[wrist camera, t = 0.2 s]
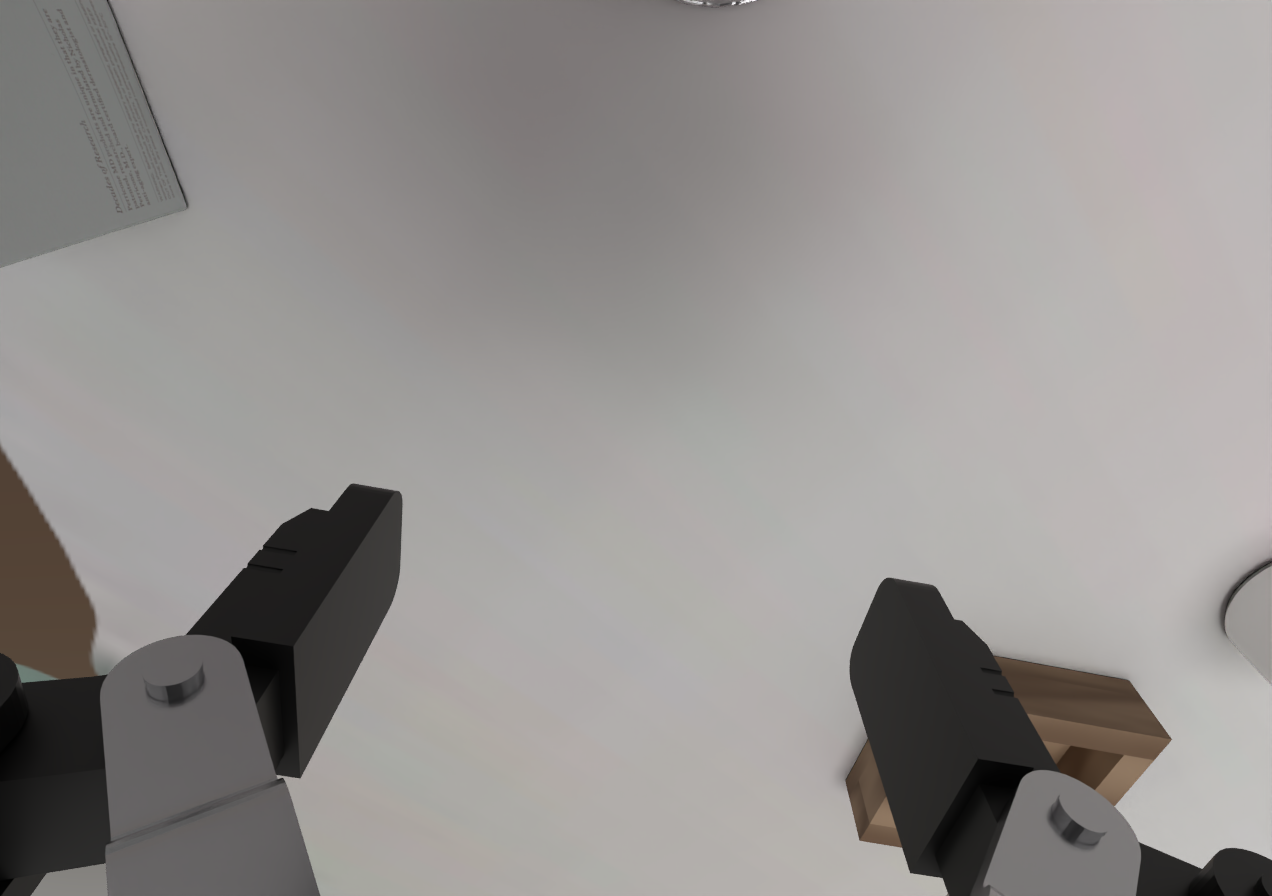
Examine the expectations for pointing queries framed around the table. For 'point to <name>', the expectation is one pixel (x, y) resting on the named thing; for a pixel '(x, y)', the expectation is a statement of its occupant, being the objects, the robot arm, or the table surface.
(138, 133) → the supplement box
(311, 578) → the robot arm
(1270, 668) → the can
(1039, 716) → the tray
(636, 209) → the table surface
